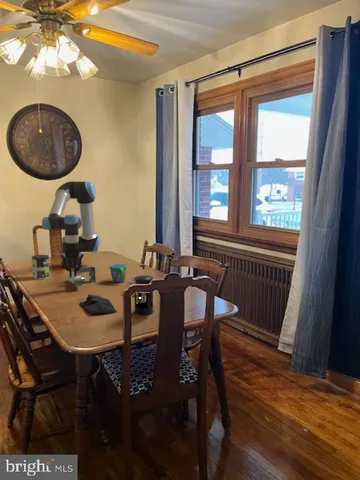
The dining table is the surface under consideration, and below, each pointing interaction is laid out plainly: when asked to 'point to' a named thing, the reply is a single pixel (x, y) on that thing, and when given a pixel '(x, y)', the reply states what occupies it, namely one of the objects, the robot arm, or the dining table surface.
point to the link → (78, 279)
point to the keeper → (91, 273)
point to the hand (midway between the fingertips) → (73, 282)
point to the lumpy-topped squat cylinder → (132, 282)
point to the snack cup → (118, 272)
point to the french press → (146, 301)
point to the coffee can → (40, 266)
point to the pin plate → (81, 277)
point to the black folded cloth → (98, 305)
